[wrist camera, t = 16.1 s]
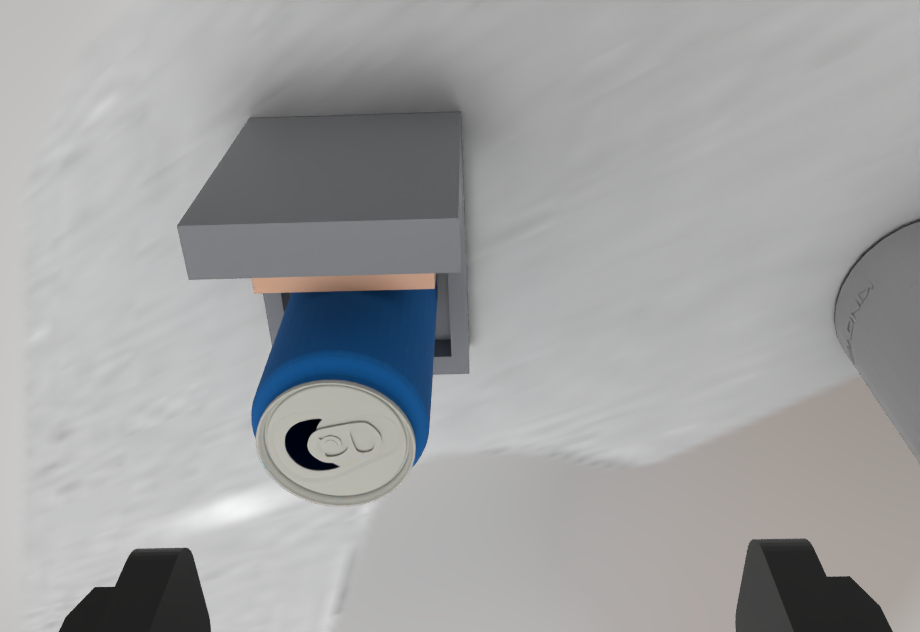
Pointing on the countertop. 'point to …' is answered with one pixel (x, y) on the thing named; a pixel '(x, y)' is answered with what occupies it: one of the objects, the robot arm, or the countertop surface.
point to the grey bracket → (340, 210)
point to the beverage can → (347, 393)
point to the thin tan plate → (344, 283)
